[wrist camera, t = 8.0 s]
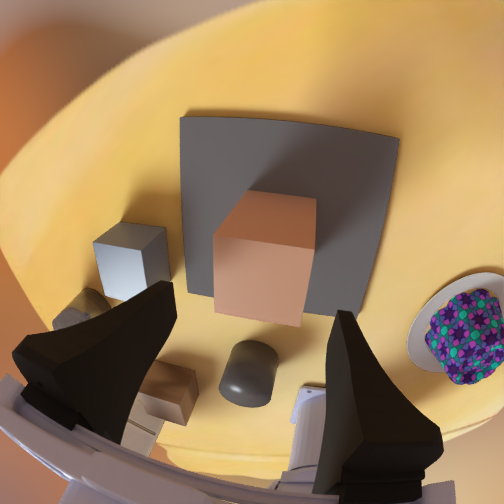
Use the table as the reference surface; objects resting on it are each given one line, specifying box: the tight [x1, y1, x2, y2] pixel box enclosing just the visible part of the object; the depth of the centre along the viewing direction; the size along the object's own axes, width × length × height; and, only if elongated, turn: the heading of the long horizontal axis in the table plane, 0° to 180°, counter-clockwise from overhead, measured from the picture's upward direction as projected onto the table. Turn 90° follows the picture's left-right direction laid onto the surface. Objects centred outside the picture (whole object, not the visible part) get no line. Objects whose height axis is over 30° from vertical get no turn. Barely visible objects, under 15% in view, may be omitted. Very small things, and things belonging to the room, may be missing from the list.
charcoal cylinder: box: [219, 340, 279, 408], centre depth 26 cm, size 5×5×4 cm
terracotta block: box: [213, 190, 316, 327], centre depth 17 cm, size 4×4×7 cm
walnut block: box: [138, 360, 199, 426], centre depth 30 cm, size 5×5×5 cm
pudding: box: [407, 272, 504, 385], centre depth 19 cm, size 12×12×5 cm
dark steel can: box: [52, 288, 111, 331], centre depth 27 cm, size 4×4×6 cm
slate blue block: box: [93, 222, 171, 301], centre depth 23 cm, size 4×5×4 cm
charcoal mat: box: [180, 117, 400, 319], centre depth 20 cm, size 14×14×1 cm
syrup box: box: [120, 394, 165, 457], centre depth 32 cm, size 6×6×14 cm
